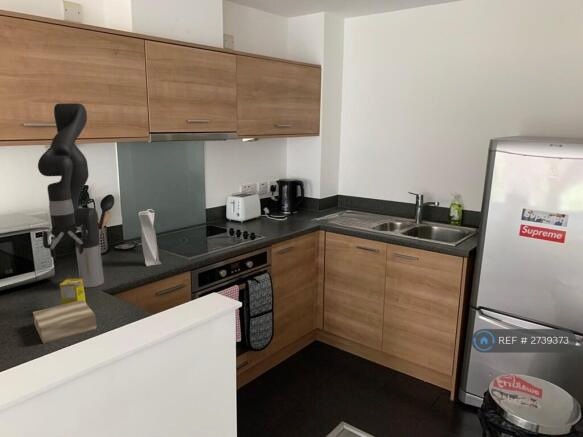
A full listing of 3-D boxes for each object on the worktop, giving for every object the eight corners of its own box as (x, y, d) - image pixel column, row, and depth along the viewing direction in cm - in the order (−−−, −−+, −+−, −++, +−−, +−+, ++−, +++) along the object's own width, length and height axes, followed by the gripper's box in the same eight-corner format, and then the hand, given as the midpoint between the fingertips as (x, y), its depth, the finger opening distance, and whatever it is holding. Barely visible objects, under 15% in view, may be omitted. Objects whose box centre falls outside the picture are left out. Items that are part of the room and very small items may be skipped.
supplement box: (86, 305, 165) (82, 278, 163) (79, 312, 160) (75, 284, 157) (70, 305, 165) (66, 278, 163) (63, 312, 159) (59, 284, 157)
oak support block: (34, 325, 149) (32, 312, 148) (84, 312, 159) (83, 299, 158) (43, 343, 137) (40, 328, 136) (96, 328, 147) (94, 314, 146)
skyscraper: (162, 265, 211) (157, 208, 205) (144, 268, 208) (139, 210, 201) (158, 260, 219) (154, 206, 212) (142, 263, 215) (136, 207, 209)
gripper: (80, 208, 162) (86, 250, 165) (37, 213, 153) (43, 257, 157) (86, 211, 156) (91, 254, 159) (41, 216, 147) (47, 262, 151)
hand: (67, 255), depth 158 cm, fingers open, 8 cm apart
